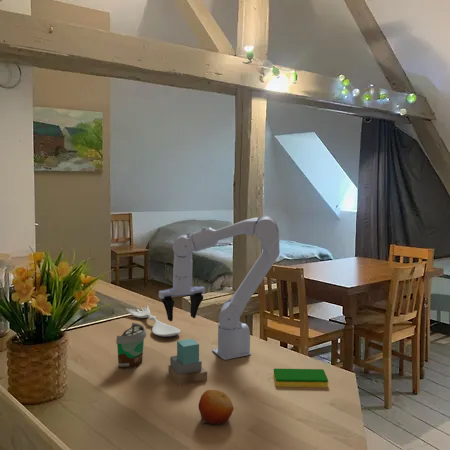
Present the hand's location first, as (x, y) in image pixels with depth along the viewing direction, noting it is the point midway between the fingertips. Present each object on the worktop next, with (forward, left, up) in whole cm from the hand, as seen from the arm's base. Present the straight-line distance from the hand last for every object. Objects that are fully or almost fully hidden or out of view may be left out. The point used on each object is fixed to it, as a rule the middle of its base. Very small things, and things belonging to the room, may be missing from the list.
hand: (181, 318), depth 157 cm
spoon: (-1, -26, -11) cm, 28 cm away
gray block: (+6, +17, -8) cm, 20 cm away
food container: (+16, +2, -11) cm, 19 cm away
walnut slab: (+6, +17, -11) cm, 21 cm away
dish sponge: (-20, +33, -11) cm, 40 cm away
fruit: (+10, +41, -11) cm, 44 cm away
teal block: (+6, +18, -6) cm, 19 cm away
